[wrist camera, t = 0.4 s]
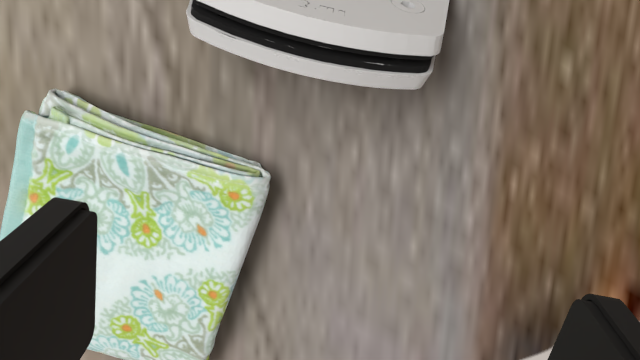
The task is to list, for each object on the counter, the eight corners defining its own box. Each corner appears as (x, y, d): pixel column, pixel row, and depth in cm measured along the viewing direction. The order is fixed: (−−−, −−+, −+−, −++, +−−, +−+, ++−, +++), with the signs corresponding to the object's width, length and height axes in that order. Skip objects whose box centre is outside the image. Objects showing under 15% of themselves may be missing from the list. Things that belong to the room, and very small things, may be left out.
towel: (283, 158, 42) (275, 183, 37) (209, 359, 50) (195, 401, 45) (53, 75, 40) (14, 90, 35) (14, 297, 48) (-22, 334, 43)
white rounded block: (458, -32, 36) (472, 38, 28) (433, 32, 39) (441, 110, 32) (211, -94, 35) (159, -39, 28) (206, -24, 38) (159, 43, 31)
